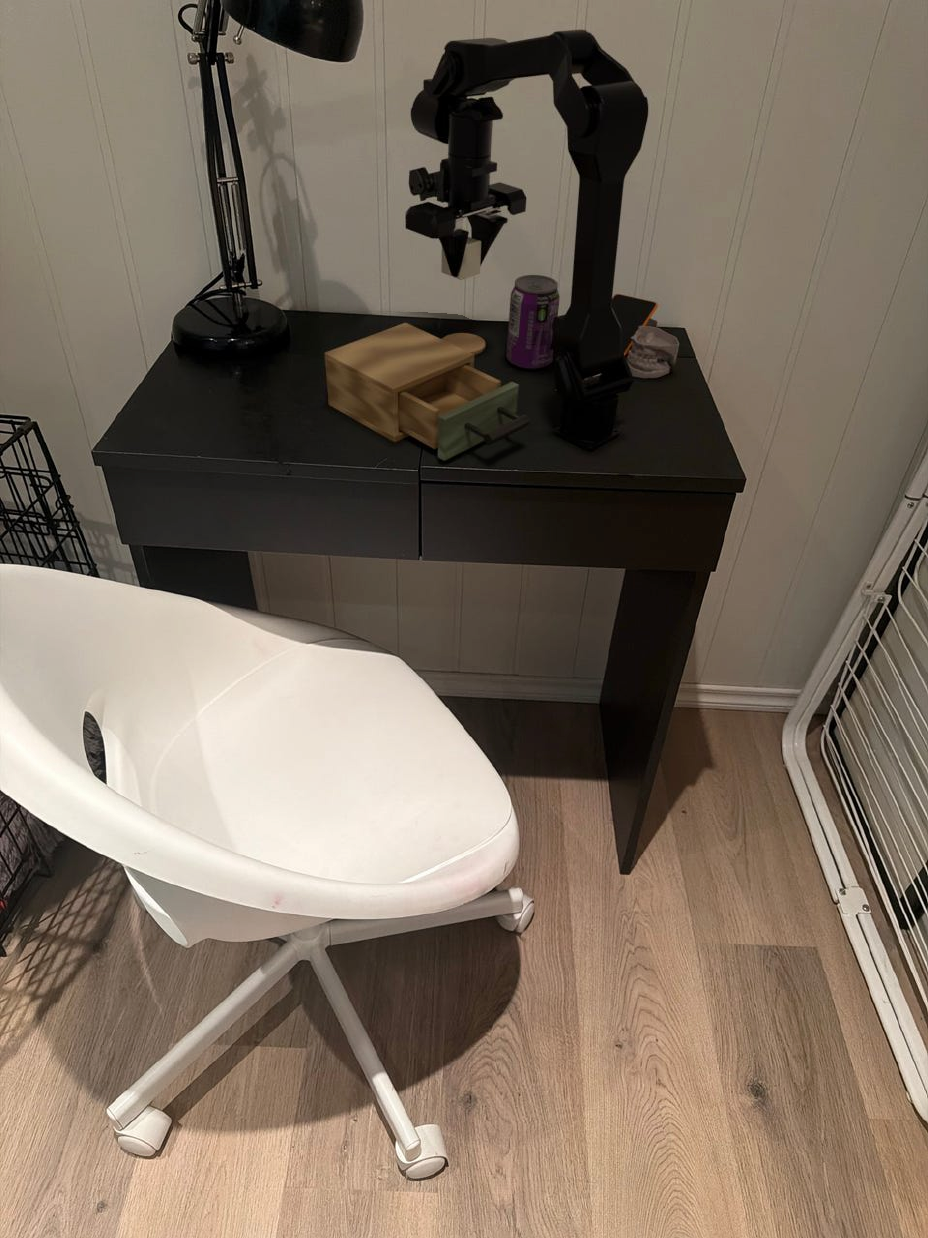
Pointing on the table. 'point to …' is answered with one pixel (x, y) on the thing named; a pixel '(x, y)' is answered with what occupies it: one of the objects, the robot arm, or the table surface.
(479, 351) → the coaster
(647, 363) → the dental mold
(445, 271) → the block
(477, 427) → the drawer
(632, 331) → the smartphone
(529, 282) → the beverage can
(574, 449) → the table surface
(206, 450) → the table surface
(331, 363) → the cabinet
